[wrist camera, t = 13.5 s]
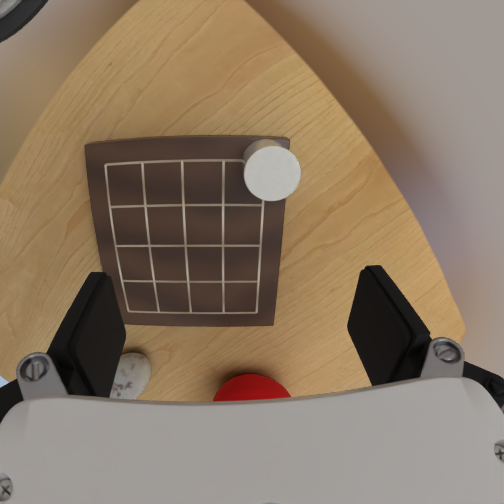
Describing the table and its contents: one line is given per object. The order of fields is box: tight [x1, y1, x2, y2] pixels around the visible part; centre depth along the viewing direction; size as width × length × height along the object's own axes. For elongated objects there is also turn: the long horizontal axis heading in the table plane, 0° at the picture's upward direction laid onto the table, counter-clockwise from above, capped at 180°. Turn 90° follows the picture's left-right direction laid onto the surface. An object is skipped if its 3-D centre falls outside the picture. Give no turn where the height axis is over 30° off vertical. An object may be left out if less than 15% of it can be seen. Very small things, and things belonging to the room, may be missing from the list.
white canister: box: [241, 139, 301, 201], centre depth 24 cm, size 4×4×4 cm
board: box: [85, 135, 290, 327], centre depth 30 cm, size 20×18×2 cm
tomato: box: [213, 374, 291, 402], centre depth 36 cm, size 12×12×13 cm
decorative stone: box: [110, 353, 151, 400], centre depth 38 cm, size 6×16×3 cm, turn 145°
